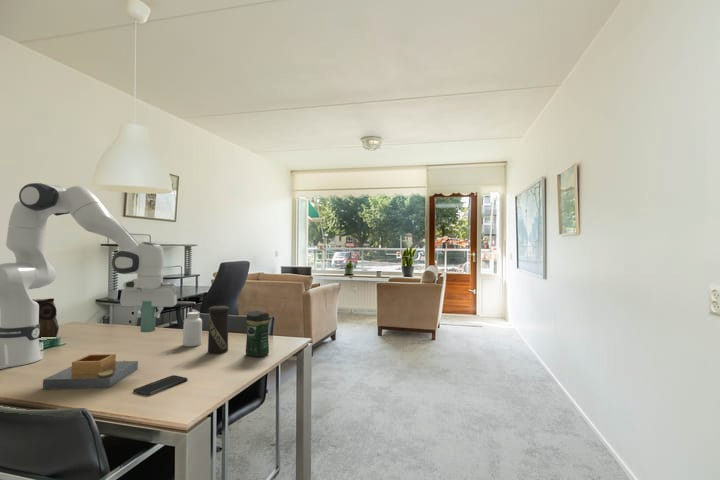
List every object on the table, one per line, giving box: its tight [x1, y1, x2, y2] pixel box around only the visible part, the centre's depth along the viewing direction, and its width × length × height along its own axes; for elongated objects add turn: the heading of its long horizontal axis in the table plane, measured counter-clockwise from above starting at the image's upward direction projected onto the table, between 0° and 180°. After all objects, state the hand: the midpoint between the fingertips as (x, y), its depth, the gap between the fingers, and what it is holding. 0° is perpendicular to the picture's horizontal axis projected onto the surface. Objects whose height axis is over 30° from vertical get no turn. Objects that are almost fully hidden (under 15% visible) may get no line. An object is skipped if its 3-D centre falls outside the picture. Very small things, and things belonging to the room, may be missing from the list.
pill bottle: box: [182, 311, 203, 347], centre depth 170 cm, size 8×8×15 cm
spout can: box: [140, 301, 157, 333], centre depth 143 cm, size 5×5×15 cm
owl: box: [31, 297, 60, 338], centre depth 177 cm, size 13×13×20 cm
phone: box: [132, 374, 189, 397], centre depth 119 cm, size 8×1×15 cm
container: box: [207, 305, 230, 355], centre depth 159 cm, size 9×9×20 cm
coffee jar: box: [245, 310, 270, 358], centre depth 155 cm, size 10×8×19 cm
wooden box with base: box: [42, 353, 139, 390], centre depth 125 cm, size 20×18×7 cm
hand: (148, 317), depth 143 cm, fingers closed on spout can, 5 cm apart
